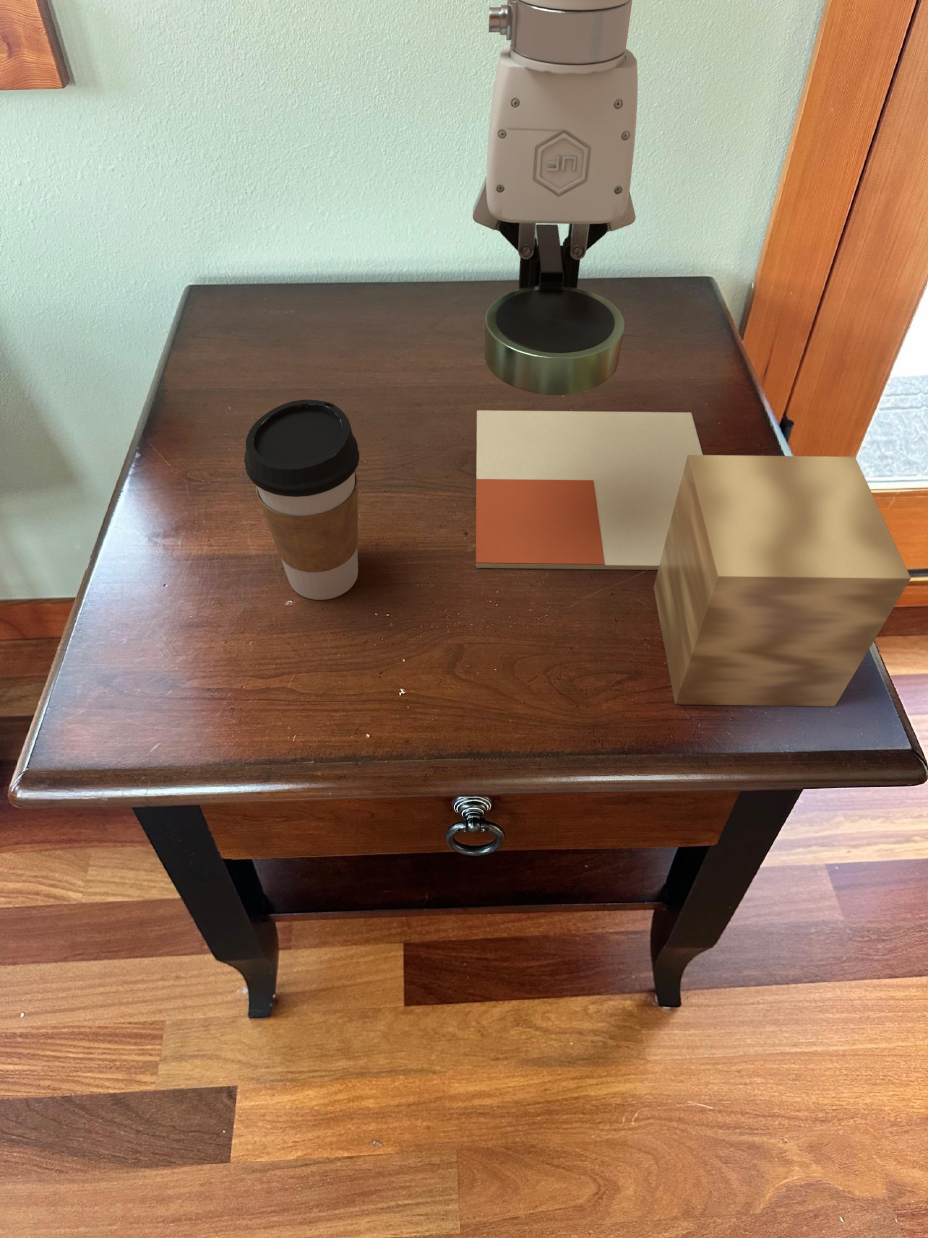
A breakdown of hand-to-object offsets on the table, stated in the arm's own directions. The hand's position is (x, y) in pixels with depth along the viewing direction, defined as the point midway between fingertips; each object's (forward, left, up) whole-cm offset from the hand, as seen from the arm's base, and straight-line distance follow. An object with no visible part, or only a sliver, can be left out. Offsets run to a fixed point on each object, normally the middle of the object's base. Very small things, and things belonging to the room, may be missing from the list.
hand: (546, 297), depth 67 cm
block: (-16, +22, -17) cm, 32 cm away
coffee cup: (+18, +15, -18) cm, 29 cm away
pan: (0, +4, 0) cm, 4 cm away
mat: (-6, +3, -17) cm, 18 cm away
